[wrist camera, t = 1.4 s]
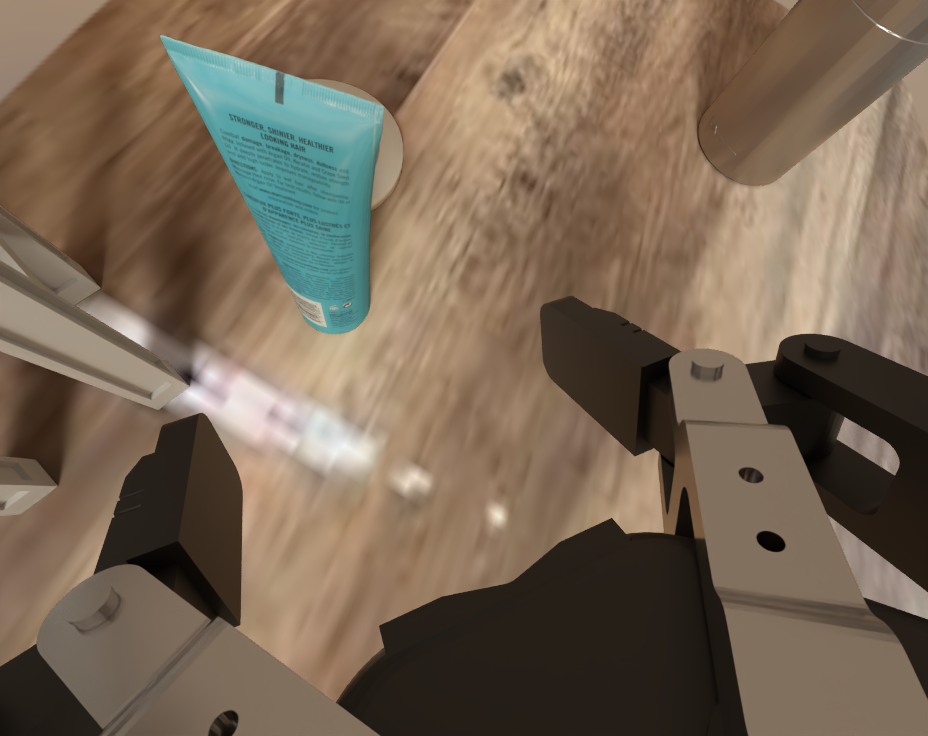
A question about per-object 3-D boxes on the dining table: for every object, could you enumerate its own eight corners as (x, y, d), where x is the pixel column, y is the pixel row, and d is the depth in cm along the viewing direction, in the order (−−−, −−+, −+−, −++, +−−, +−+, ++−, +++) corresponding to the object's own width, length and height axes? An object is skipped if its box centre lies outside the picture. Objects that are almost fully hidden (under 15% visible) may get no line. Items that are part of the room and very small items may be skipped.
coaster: (374, 80, 39) (374, 66, 38) (423, 202, 37) (425, 191, 36) (225, 106, 36) (219, 92, 35) (268, 239, 34) (264, 229, 33)
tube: (391, 283, 35) (397, 48, 17) (379, 344, 34) (371, 162, 15) (289, 262, 34) (177, -9, 16) (272, 324, 33) (127, 106, 14)
